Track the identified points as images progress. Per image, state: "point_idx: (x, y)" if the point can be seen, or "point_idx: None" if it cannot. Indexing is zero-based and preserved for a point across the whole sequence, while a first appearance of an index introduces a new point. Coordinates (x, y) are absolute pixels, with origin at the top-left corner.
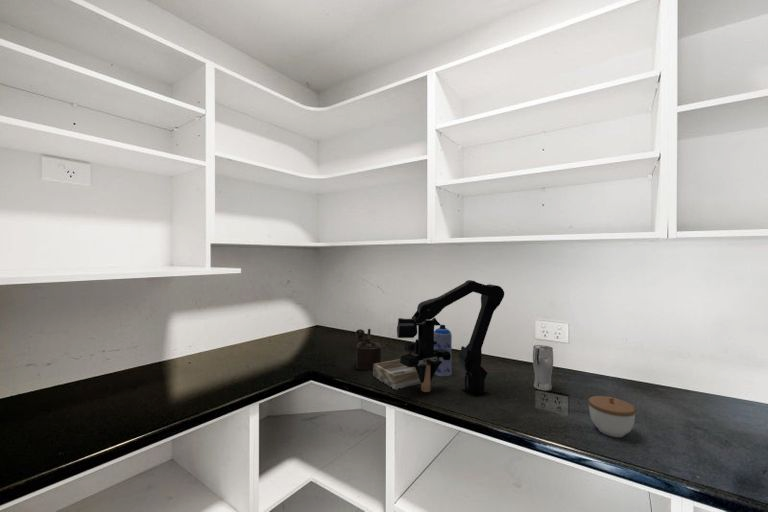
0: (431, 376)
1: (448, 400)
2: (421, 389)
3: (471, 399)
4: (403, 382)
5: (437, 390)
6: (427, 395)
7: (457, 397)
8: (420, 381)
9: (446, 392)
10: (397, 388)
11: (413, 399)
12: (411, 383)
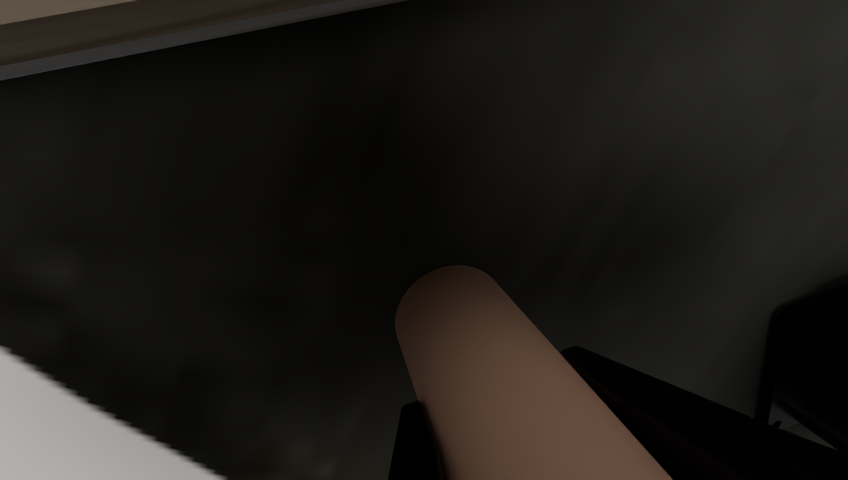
0: None
1: None
2: (397, 327)
3: None
4: (165, 33)
5: (592, 262)
6: None
7: None
8: (401, 417)
9: (635, 324)
10: (53, 68)
11: (232, 432)
12: (365, 2)
